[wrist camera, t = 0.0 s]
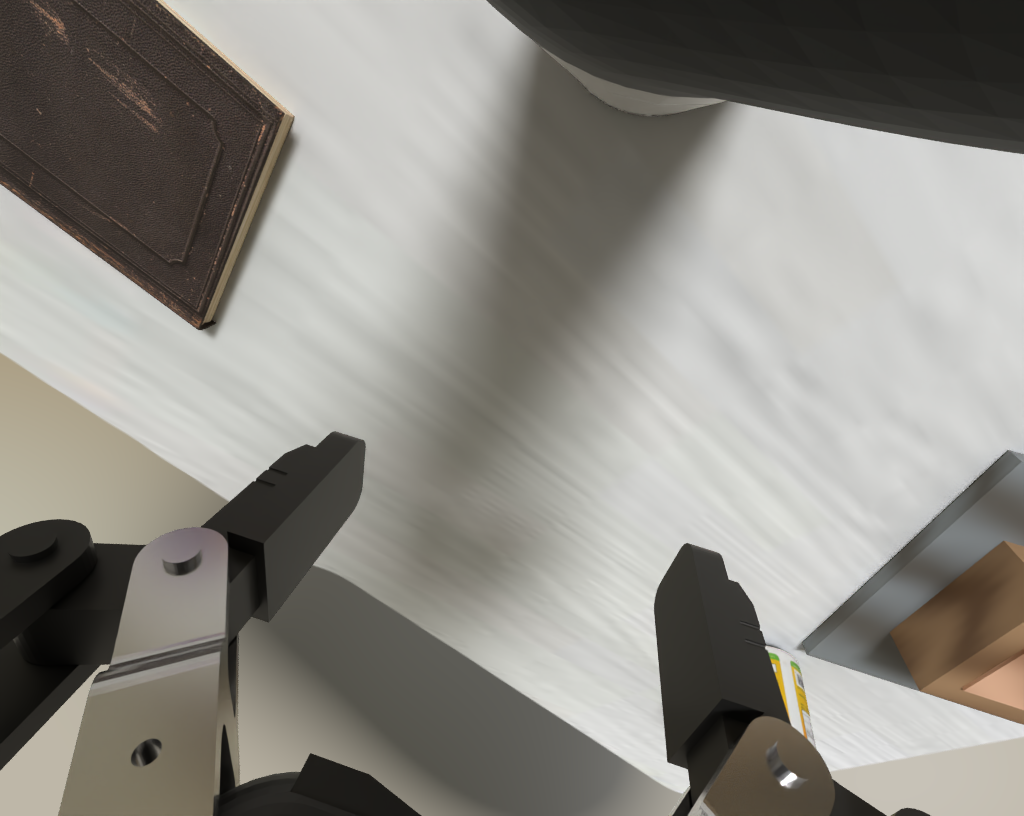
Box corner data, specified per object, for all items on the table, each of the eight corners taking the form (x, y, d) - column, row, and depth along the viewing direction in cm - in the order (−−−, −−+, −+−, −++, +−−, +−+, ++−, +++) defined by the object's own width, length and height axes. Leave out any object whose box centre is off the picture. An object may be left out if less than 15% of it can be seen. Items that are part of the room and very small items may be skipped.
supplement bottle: (710, 656, 39) (720, 799, 32) (751, 634, 36) (772, 791, 28) (768, 679, 39) (790, 827, 32) (815, 660, 36) (851, 823, 28)
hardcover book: (-148, -292, 20) (-232, -337, 18) (308, 113, 24) (280, 113, 22) (-113, 72, 28) (-168, 68, 26) (220, 321, 32) (195, 334, 31)
